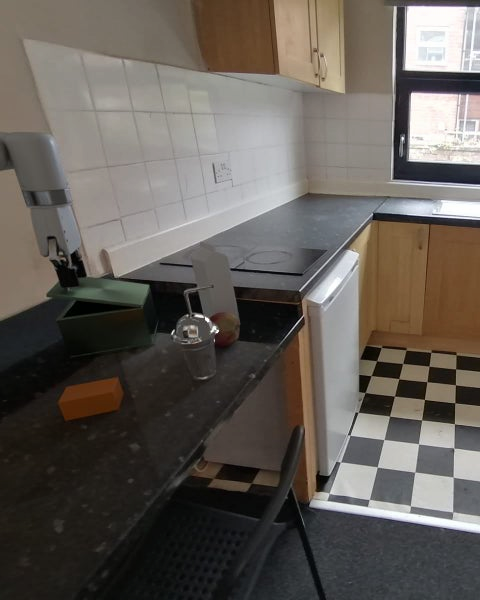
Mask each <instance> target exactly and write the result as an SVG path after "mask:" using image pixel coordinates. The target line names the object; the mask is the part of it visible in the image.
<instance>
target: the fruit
mask: <svg viewBox="0 0 480 600" xmlns="http://www.w3.org/2000/svg"><path fill="white" fill-rule="evenodd" d="M209 319H210V320H211V321H212V322H214V323H216V324H217V327H218V329H219V330H218V332H217V334H216V335H215V347H220V348H227V347H230V346H232V345H234V344H235V343H236V342H237V341H238V339H239V338H240V334H241V333H240V331H241V330H240V325H239V320H240V319H239V320H238V318H237V317H236V316H235V315H233V314H230V313H228V312H221V313H217V314H215V315H213V316H211V317H210V318H209Z"/></svg>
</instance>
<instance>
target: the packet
mask: <svg viewBox="0 0 480 600" xmlns="http://www.w3.org/2000/svg"><path fill="white" fill-rule="evenodd" d="M124 394H125V393H124V391H123V388H122V385H121V382H120V378H119V377H118V376H115V377H111V378H107V379H105V378H104V379H101V380H94V381H90V382H85V383H80V384H74V385H69V386H66V387H65V389H64V391H63V392H62V395H61V396H60V398H59V400H58V401H57V404H58V407H59V409H60V411H61V415H62V416H63V419H64V421H65V422H67V421H72V420H78V419H81V418H86V417H91V416H95V415H96V416H97V415H99V414H105V413H109V412H115V411H118V410H120V406H121V403H122V400H123V397H124Z"/></svg>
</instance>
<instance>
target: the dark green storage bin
mask: <svg viewBox="0 0 480 600" xmlns="http://www.w3.org/2000/svg"><path fill="white" fill-rule="evenodd" d="M55 322H56V325H57V327H58V330H59V332H60V336H61V338H62V340H63V343H64V345H65V348H66V350H67V353H68V355H69V358H70V361H76V360H81V359H82V360H83V359H88V358H93V357H98V356H104V355H105V356H106V355H111V354H115V353H117V354H118V353H121V352H128V351H133V350H139V348H140V349H144V347H145V348H150V347H149V346H151V347H153V346H154V345H155V340H156V337H157V333H158V329H159V326H160V320H159V317H158V312H157V310H156V306H155V303H154V299H153V294H152V291H151V288H150V287H149V289H148V292H147V294H146V297H145V300H144V302H143V305H142V307H141V308H140V307H131V306H122V305H112V304H103V303H94V302H85V301H76V300H70V302H69V303H68V304H67V305H66V306H65V308H64V309H63V311H61V313H60V314H59V315H58V317H56V319H55Z"/></svg>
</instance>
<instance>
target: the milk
mask: <svg viewBox="0 0 480 600" xmlns="http://www.w3.org/2000/svg"><path fill="white" fill-rule="evenodd" d="M199 246H200V248H199V249H197V251H196V252H195V253H193V254H192V255H191V256H190V260H191V265H192V270H193V274H194V279H195V283H196V288H197V287H202V286H207V285H213V287H214V288H211V289H206V290H201V291H197V292H198V297H199V301H200V305H201V311H202V314H204V315H205V316H207V317H208V318H210V317H211V316H213V315H215V314H217V313H221V312H228V313H230V314H233V315H235V316H236V317H237V318H238V320H239V326H241V321H240V315H239V309H238V304H237V298H236V293H235V288H234V283H233V277H232V270H231V265H230V259H229V255H228V254H225V253H221V252H219V251H216V248H215V245H214V244H211V243H207V242H204V241H199Z"/></svg>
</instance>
